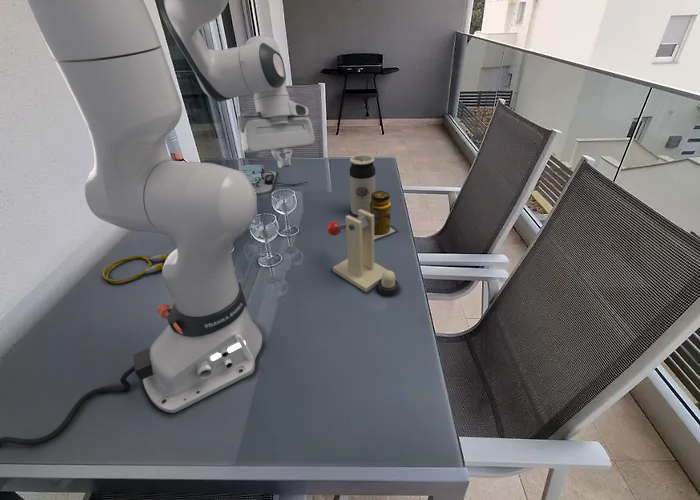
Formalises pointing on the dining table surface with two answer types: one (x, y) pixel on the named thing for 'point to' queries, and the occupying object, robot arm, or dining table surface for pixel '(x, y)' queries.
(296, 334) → the dining table surface
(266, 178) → the neon sign
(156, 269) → the extension cord
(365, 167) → the travel mug
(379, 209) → the condiment
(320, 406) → the dining table surface
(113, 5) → the robot arm
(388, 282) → the pilot lamp
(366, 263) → the switch bracket
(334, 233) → the switch lever
